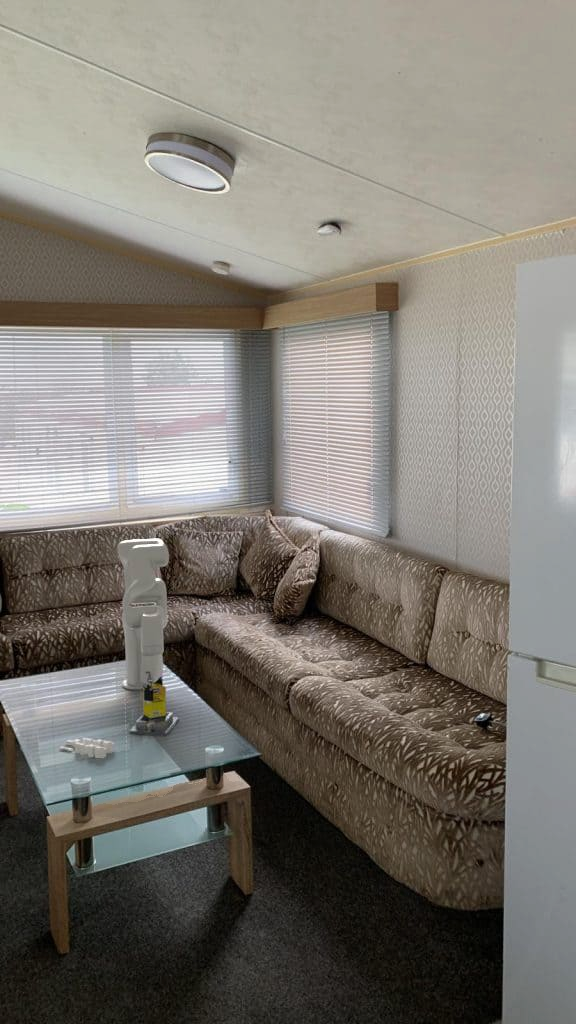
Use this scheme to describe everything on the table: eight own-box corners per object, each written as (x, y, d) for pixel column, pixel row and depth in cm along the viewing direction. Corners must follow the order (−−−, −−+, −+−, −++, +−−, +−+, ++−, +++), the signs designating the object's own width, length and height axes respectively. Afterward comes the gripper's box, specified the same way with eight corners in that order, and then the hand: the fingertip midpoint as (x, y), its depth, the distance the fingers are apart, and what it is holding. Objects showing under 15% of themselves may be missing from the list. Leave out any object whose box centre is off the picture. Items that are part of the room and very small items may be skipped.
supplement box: (166, 717, 294) (166, 686, 294) (150, 720, 291) (150, 689, 290) (158, 713, 299) (158, 682, 299) (142, 716, 296) (142, 685, 295)
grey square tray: (143, 717, 304) (143, 708, 303) (178, 720, 301) (178, 710, 301) (129, 733, 290) (129, 723, 289) (166, 736, 288) (166, 726, 287)
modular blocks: (114, 752, 276) (114, 740, 275) (102, 760, 270) (101, 748, 269) (63, 743, 283) (63, 731, 283) (51, 751, 277) (50, 739, 276)
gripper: (150, 639, 301) (151, 685, 304) (133, 655, 284) (134, 704, 287) (170, 640, 299) (171, 686, 302) (154, 657, 283) (155, 705, 286)
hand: (153, 695), depth 295 cm, fingers open, 9 cm apart
